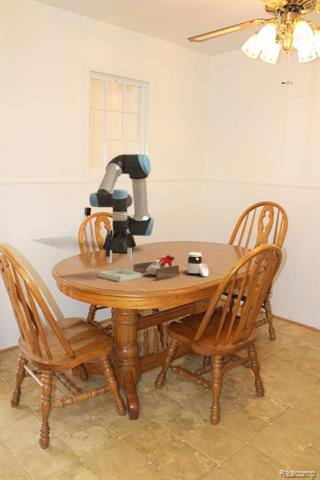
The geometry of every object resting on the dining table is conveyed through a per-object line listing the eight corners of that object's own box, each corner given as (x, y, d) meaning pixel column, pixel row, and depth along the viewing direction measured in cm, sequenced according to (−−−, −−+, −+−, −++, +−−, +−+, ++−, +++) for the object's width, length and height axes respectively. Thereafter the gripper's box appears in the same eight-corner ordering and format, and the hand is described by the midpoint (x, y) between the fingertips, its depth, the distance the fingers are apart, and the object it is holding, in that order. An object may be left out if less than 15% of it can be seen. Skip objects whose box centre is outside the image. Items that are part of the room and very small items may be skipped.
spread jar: (188, 272, 230) (188, 251, 228) (208, 273, 228) (209, 252, 227) (186, 277, 218) (187, 255, 217) (208, 277, 216) (208, 255, 215)
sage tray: (97, 276, 214) (97, 271, 214) (119, 273, 225) (119, 268, 224) (119, 282, 202) (119, 276, 202) (141, 278, 213) (141, 273, 213)
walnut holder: (133, 275, 219) (133, 264, 218) (155, 271, 231) (155, 261, 230) (157, 280, 207) (157, 268, 206) (179, 276, 219) (179, 265, 218)
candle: (145, 269, 222) (163, 247, 222) (161, 282, 222) (179, 260, 222) (145, 271, 213) (163, 248, 213) (162, 285, 213) (180, 262, 213)
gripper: (105, 221, 199) (105, 265, 201) (142, 219, 217) (142, 259, 219) (95, 220, 204) (95, 263, 206) (133, 218, 222) (132, 258, 224)
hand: (119, 261), depth 213 cm, fingers open, 13 cm apart
